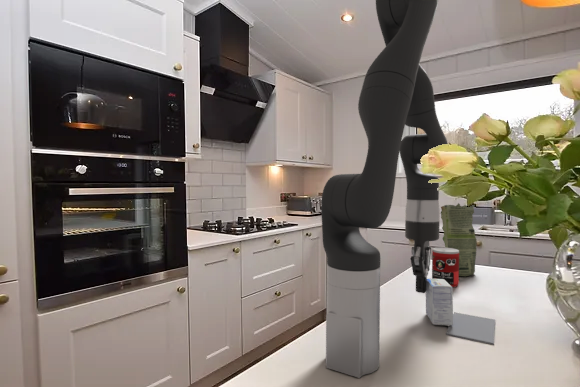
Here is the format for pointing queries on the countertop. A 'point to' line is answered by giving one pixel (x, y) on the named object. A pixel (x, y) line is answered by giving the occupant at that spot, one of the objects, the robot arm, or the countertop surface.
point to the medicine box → (439, 302)
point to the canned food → (446, 265)
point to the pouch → (460, 235)
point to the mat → (472, 328)
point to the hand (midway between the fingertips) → (421, 291)
